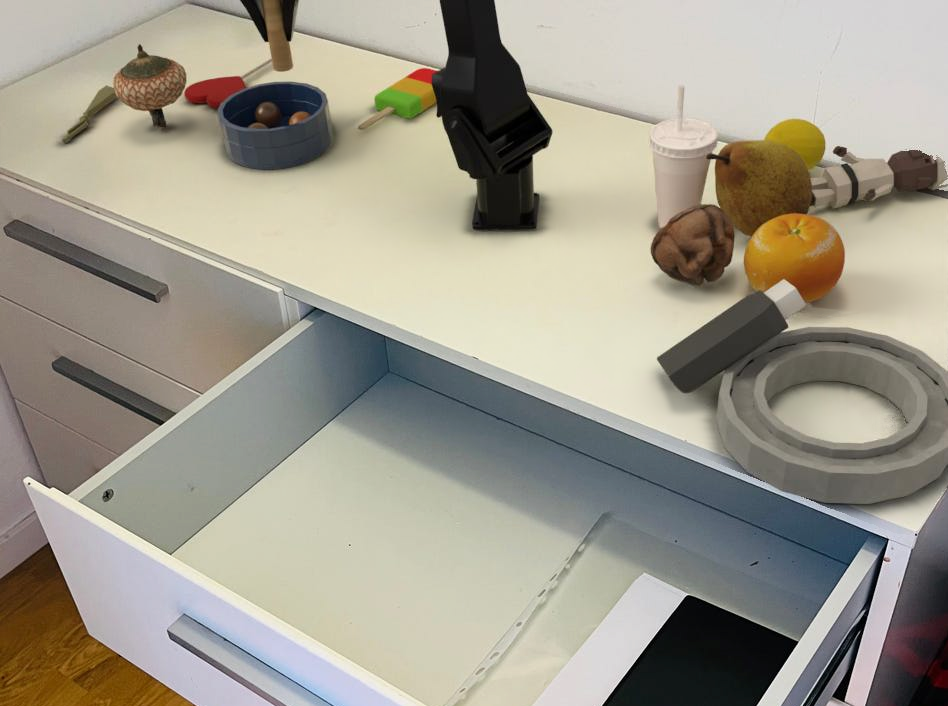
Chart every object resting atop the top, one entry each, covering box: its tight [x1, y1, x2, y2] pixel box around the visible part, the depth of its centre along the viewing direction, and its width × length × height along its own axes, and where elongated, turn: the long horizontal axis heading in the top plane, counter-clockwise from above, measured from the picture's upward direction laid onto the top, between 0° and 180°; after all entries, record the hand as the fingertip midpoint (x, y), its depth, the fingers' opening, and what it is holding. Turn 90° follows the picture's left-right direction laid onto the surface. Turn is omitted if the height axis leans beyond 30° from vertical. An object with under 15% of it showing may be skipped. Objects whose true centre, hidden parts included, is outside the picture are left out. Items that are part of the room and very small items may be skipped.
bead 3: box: [289, 111, 312, 125], centre depth 131 cm, size 3×3×3 cm
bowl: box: [216, 81, 334, 170], centre depth 132 cm, size 12×12×4 cm
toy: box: [810, 145, 948, 210], centre depth 116 cm, size 8×5×15 cm
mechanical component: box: [715, 326, 948, 505], centre depth 92 cm, size 18×18×3 cm
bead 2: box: [248, 123, 269, 129], centre depth 130 cm, size 3×3×3 cm
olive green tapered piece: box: [61, 85, 118, 144], centre depth 140 cm, size 12×3×1 cm, turn 156°
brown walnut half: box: [650, 203, 736, 287], centre depth 106 cm, size 8×8×5 cm
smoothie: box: [648, 84, 719, 230], centre depth 111 cm, size 6×6×14 cm
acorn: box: [112, 43, 187, 130], centre depth 134 cm, size 8×8×10 cm
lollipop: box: [183, 57, 272, 110], centre depth 145 cm, size 8×1×15 cm
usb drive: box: [656, 279, 807, 394], centre depth 95 cm, size 5×12×3 cm
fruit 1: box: [763, 118, 826, 171], centre depth 120 cm, size 6×6×8 cm
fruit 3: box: [743, 213, 846, 304], centre depth 104 cm, size 8×8×8 cm
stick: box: [261, 0, 294, 73], centre depth 126 cm, size 2×2×9 cm
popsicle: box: [357, 67, 438, 131], centre depth 137 cm, size 6×15×2 cm, turn 144°
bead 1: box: [255, 102, 282, 129], centre depth 134 cm, size 3×3×3 cm
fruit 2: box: [706, 139, 812, 238], centre depth 110 cm, size 9×9×12 cm
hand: (278, 40), depth 127 cm, fingers closed on stick, 2 cm apart
